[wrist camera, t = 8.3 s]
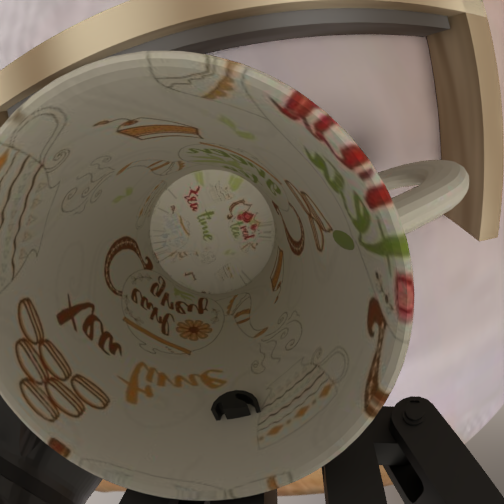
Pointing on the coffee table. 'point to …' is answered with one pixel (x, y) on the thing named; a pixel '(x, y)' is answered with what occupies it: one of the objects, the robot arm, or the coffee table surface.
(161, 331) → the mug
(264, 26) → the bay
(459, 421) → the coffee table surface
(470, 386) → the coffee table surface
